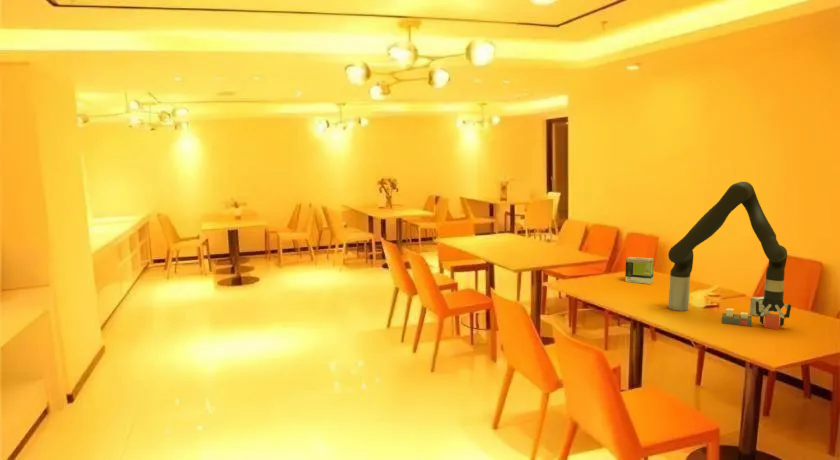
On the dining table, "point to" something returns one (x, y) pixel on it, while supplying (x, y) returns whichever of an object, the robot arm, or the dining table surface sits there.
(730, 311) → the breaker plain
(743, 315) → the breaker tagged
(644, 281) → the tea box
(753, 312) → the medicine box
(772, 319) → the red block
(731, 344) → the dining table surface
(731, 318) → the breaker panel
